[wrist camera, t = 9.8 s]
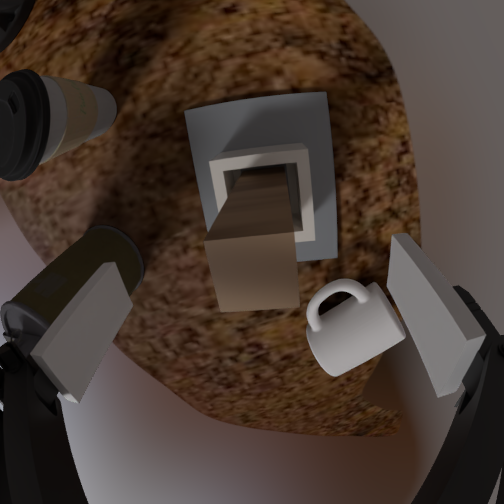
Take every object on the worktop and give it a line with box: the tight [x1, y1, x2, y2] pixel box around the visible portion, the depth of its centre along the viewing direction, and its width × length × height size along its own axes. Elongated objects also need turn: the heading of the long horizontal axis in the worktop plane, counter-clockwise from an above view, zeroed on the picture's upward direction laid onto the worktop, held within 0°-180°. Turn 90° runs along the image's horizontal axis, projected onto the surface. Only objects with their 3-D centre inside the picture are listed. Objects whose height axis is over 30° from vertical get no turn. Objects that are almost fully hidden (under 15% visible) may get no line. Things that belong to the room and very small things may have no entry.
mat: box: [184, 92, 337, 262], centre depth 29 cm, size 18×14×1 cm
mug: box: [306, 279, 406, 376], centre depth 32 cm, size 12×10×8 cm
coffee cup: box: [0, 69, 117, 181], centre depth 20 cm, size 9×9×15 cm
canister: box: [0, 225, 144, 358], centre depth 26 cm, size 11×10×20 cm
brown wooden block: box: [203, 166, 300, 312], centre depth 20 cm, size 4×4×16 cm
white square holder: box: [209, 143, 315, 242], centre depth 26 cm, size 8×8×6 cm
